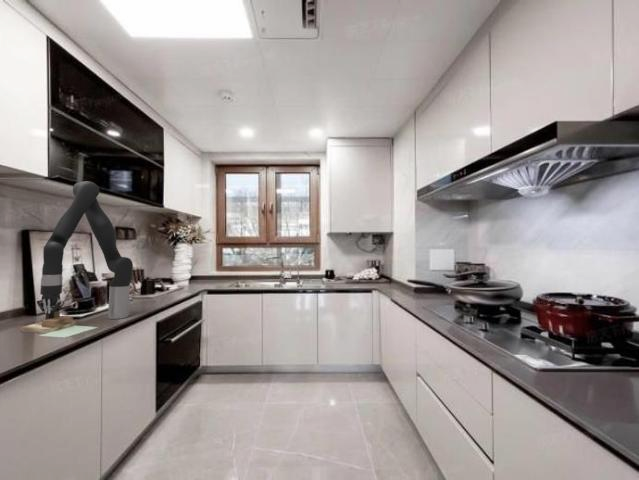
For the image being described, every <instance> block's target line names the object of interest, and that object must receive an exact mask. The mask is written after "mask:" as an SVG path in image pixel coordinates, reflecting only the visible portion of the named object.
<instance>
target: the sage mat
mask: <svg viewBox="0 0 639 480" xmlns="http://www.w3.org/2000/svg"><path fill="white" fill-rule="evenodd" d="M98 328H99V327H98V326H86V325H85V326H84V325H76V326H71V327H68V328H64V329H60V330H57V331H53V332H50V333H41V334H39V335H38V337H42V338H56V339H66V338H69V337H73V336H77V335H79V334H83V333H87V332H89V331H92V330H95V329H98Z"/></svg>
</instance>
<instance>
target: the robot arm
mask: <svg viewBox="0 0 639 480" xmlns="http://www.w3.org/2000/svg"><path fill="white" fill-rule="evenodd" d="M72 193H73V195H74V199H73V202H72V203H71V204H70V206H69V207H68V209H67V210H66V211H65V212H64V213H63V214H62V216H61V217H60V219H58V221H57V223H56V225H55V227H54V229H53V230H52V234H51V235H50V237H49V238H48V240H47V242H46V243H45V245H44V246H43V250H42V251H43V259H42V260H43V264H42V268H41V269H42V271H41V279H40V290H39V291H40V292H39V293H40V295H41V299H40V300H37V301H36V304H37V305H38V307H39V309H40V311H41V312H42V313H45V317H46V320H47V319H51V318H54V313H55V312H57V311H59V312H60V310H61V309H62V308H63V306H64V304H65V303H66V301H65V300H62V299H61V296H60V295H61V294H62V293H63V280H64V279H63V278H64V277H63V271H64V270H63V269H64V267H63V266H64V265H63V259H64V253H65V248H66V246H67V244H68V242H69V239H71V237H72V236H73V234H74V232H75V230H76V228H77V227H78V225H79V223H80V222H81V219H82V217H84V215H85V217H86V219H87V223H88V224H89V227H90V229H91V232H93V235H94V237H95V240H96V241H97V244H98V246H99V248H100V249H101V251H102V255H103V257H104V259H105V263H106V266H107V268H108V270H109V272H111V273H113V275H114V276H113V279H112V280H110V281H109V293H108V294H109V295H108V296H109V297H108V313H107V314H108V315H107V317H108V319H109V320H117V319H124V318H128V317H129V316H131V298H130V294H131V293H130V291H131V288H130V287H131V286H130V285H131V282H132V280H133V272H134V271H133V270H134V264H133V261H132V259H131V258H129V257H126V256H122V255H121V253H120V252H119V249H118V247H117V233H116V230H115V228H114V225H113V223H112V221H111V219H110V218H109V216H108V215H107V214H106V212H104V210H103V209H102V207H101V205H100V203H99V202H98V199H97V197H98V196H99V194H100V188H99V186H98V185H97V184H96V183H94V182H93V181H88V180H87V181H86V180H84V181H77V182H76V183H75V184H74V185H73V187H72ZM52 308H53V309H52Z"/></svg>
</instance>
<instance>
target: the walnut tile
mask: <svg viewBox="0 0 639 480" xmlns="http://www.w3.org/2000/svg"><path fill="white" fill-rule="evenodd" d="M41 322H42V327H45V328H55V327H59V326H63V325H67V324H71V323H73V322H74V316H71V315H70V316H67V315H60V317H55V318H51V319H47V320H45V319H43V320H42V321H41Z"/></svg>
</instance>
